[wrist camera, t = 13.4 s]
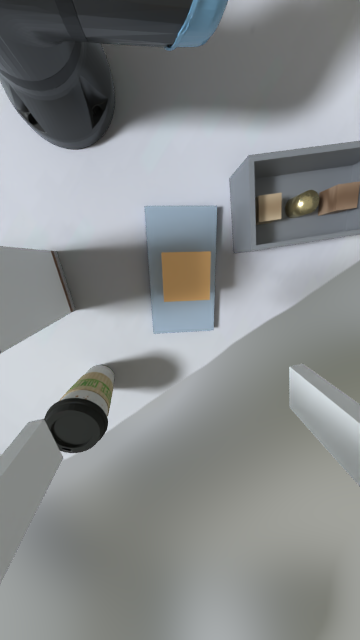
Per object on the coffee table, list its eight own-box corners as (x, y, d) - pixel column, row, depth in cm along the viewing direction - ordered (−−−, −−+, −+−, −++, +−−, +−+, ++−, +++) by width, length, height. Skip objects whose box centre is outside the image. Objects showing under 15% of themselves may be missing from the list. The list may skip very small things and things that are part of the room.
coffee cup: (128, 365, 44) (112, 415, 30) (115, 399, 46) (95, 461, 32) (84, 352, 42) (44, 399, 28) (73, 388, 44) (32, 449, 30)
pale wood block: (248, 202, 36) (258, 195, 32) (268, 199, 36) (281, 192, 32) (248, 226, 37) (259, 222, 33) (268, 223, 37) (281, 218, 33)
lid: (153, 330, 42) (152, 345, 35) (145, 208, 35) (141, 194, 28) (211, 327, 44) (221, 341, 36) (214, 208, 36) (228, 194, 29)
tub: (229, 178, 35) (248, 155, 27) (353, 161, 36) (404, 134, 28) (233, 253, 39) (251, 251, 31) (345, 235, 40) (388, 229, 32)
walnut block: (319, 192, 36) (338, 184, 32) (339, 189, 36) (360, 181, 33) (317, 215, 38) (335, 210, 34) (337, 212, 38) (356, 207, 34)
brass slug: (285, 198, 36) (299, 191, 32) (303, 196, 36) (320, 188, 32) (284, 219, 37) (298, 214, 33) (302, 217, 37) (318, 212, 33)
